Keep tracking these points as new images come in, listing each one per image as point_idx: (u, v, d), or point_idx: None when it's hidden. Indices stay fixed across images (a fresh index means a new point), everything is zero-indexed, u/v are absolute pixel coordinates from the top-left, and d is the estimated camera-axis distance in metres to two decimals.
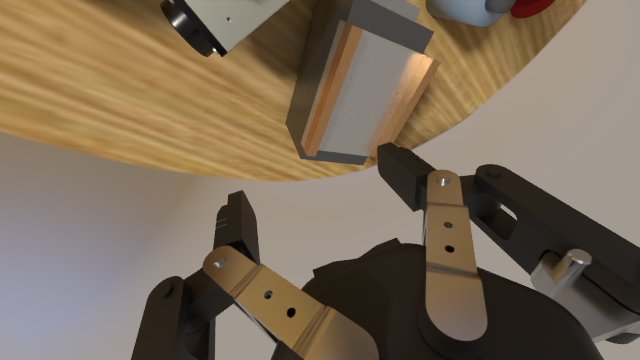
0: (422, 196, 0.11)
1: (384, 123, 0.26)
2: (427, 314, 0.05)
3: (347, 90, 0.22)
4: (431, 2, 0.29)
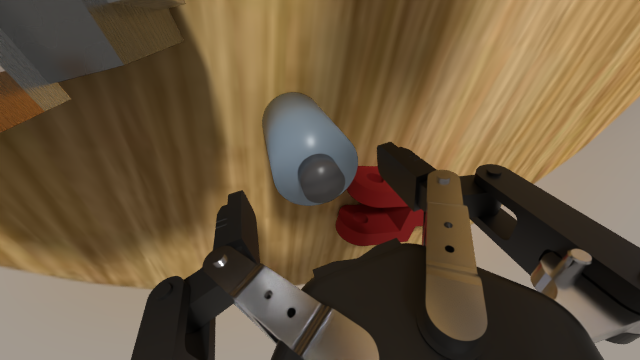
0: (422, 196, 0.11)
1: None
2: (427, 314, 0.05)
3: None
4: (268, 111, 0.18)
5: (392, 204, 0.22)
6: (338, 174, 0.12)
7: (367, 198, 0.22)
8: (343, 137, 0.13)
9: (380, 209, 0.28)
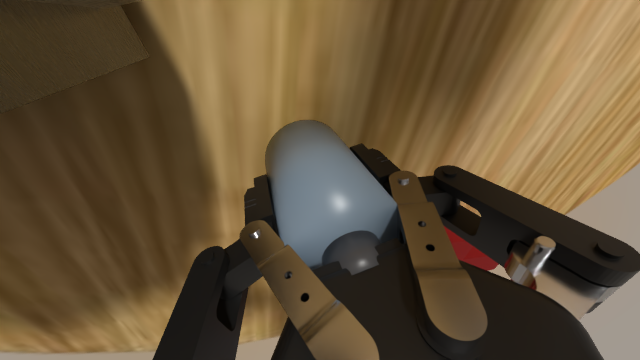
0: None
1: None
2: (427, 314, 0.05)
3: None
4: (274, 147, 0.13)
5: None
6: None
7: None
8: (394, 206, 0.08)
9: None
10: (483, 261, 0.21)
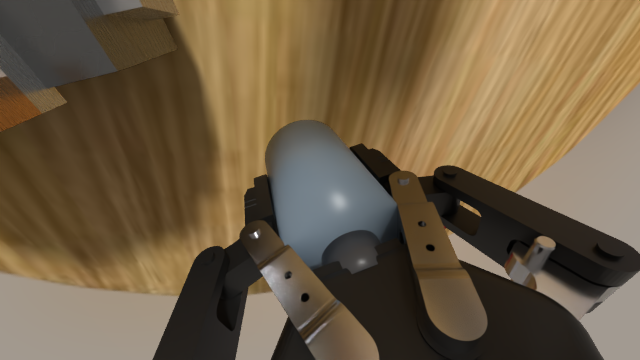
0: None
1: None
2: (427, 314, 0.05)
3: None
4: (274, 147, 0.13)
5: None
6: None
7: None
8: (394, 206, 0.08)
9: None
10: None
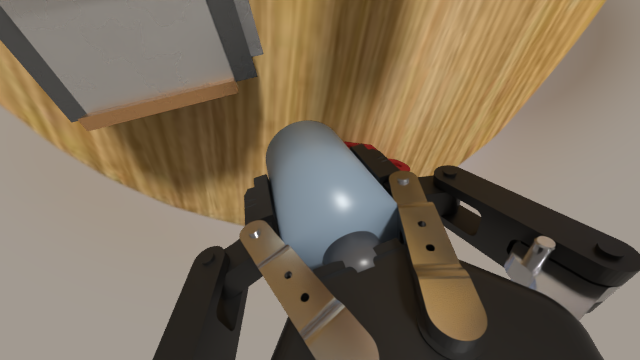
0: None
1: (142, 94, 0.19)
2: (427, 314, 0.05)
3: None
4: (274, 147, 0.13)
5: None
6: None
7: None
8: (395, 207, 0.08)
9: None
10: None
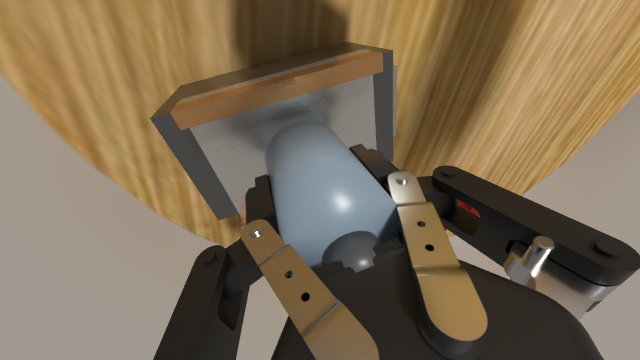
0: None
1: None
2: (427, 314, 0.05)
3: (304, 111, 0.15)
4: (274, 147, 0.13)
5: None
6: None
7: None
8: (394, 207, 0.08)
9: None
10: None
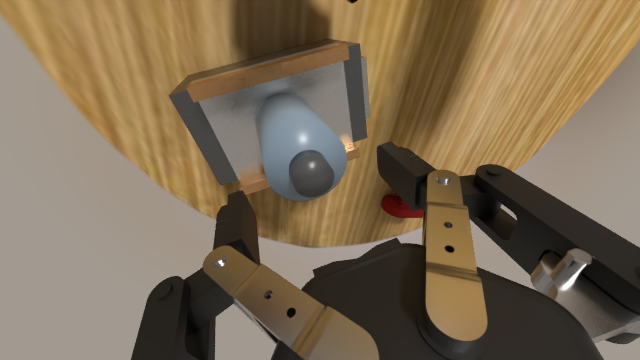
0: (422, 196, 0.11)
1: None
2: (427, 314, 0.05)
3: (289, 92, 0.19)
4: (261, 111, 0.18)
5: None
6: (327, 169, 0.13)
7: None
8: (332, 134, 0.13)
9: None
10: None
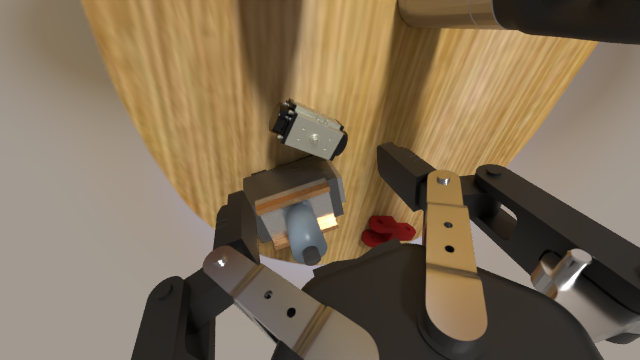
0: (422, 196, 0.11)
1: None
2: (427, 314, 0.05)
3: (301, 202, 0.38)
4: (287, 215, 0.37)
5: (385, 232, 0.61)
6: (318, 255, 0.32)
7: (377, 229, 0.60)
8: (320, 239, 0.33)
9: (379, 232, 0.67)
10: (404, 236, 0.65)
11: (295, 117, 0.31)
